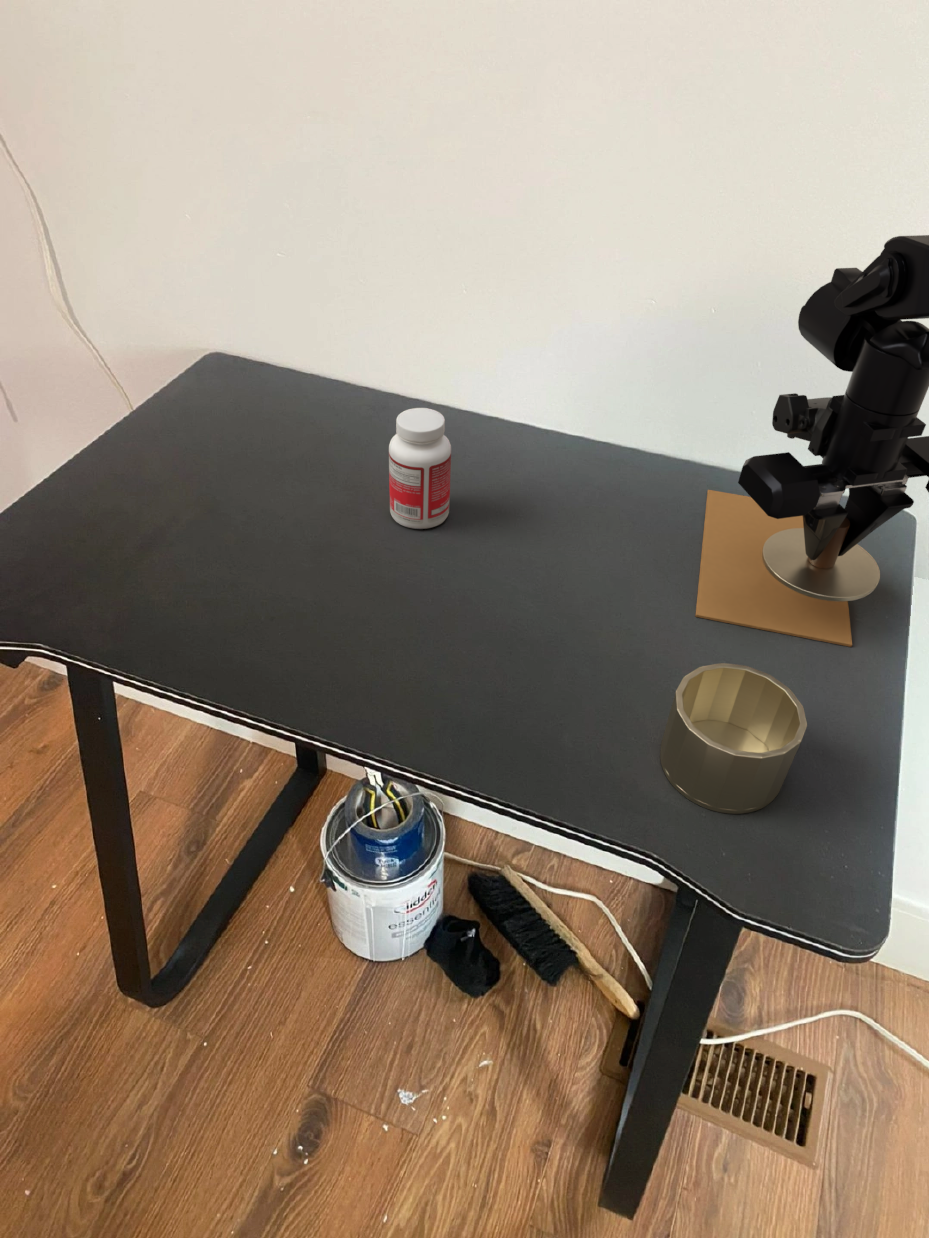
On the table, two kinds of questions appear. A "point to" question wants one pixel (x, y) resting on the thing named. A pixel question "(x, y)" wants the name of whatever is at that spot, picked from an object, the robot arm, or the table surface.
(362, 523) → the table surface
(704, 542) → the mat
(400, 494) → the pill bottle
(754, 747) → the pot
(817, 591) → the lid
